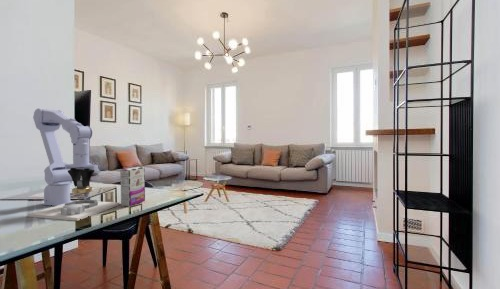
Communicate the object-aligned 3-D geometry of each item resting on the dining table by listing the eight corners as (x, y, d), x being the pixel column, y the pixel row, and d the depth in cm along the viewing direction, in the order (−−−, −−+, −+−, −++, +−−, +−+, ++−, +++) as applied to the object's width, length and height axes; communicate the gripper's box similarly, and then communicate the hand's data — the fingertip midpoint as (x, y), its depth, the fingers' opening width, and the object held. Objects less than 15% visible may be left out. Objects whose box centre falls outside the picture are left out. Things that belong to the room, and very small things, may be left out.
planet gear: (67, 193, 105) (67, 181, 105) (81, 189, 112) (81, 178, 112) (82, 194, 104) (82, 182, 104) (95, 189, 111) (95, 178, 111)
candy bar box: (136, 200, 123) (136, 166, 122) (145, 200, 122) (145, 166, 121) (119, 206, 112) (119, 169, 111) (129, 206, 111) (129, 169, 110)
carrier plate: (27, 216, 96) (27, 207, 96) (77, 202, 118) (77, 194, 117) (77, 220, 92) (77, 211, 92) (119, 205, 113) (119, 197, 113)
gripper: (103, 154, 110) (103, 185, 110) (74, 153, 113) (74, 183, 113) (90, 155, 103) (90, 188, 103) (60, 154, 106) (60, 186, 106)
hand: (81, 186), depth 108 cm, fingers closed on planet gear, 4 cm apart
